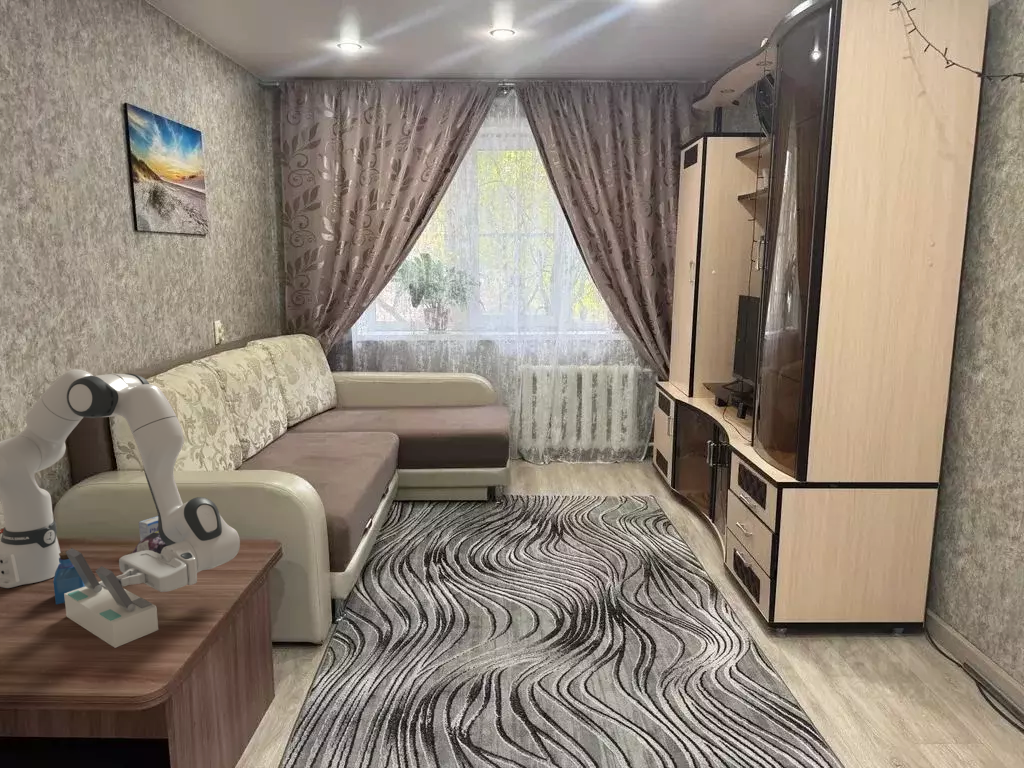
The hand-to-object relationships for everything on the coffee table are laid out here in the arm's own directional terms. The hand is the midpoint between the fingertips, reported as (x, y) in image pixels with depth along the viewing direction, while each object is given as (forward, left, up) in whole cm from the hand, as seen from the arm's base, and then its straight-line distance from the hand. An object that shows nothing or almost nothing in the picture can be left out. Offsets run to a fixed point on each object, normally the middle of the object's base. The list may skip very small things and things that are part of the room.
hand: (118, 581), depth 168 cm
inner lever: (-14, +8, -6) cm, 17 cm away
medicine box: (-27, +49, -14) cm, 57 cm away
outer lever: (0, +1, -6) cm, 6 cm away
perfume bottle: (-27, +15, -14) cm, 33 cm away
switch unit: (-7, +5, -13) cm, 16 cm away
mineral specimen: (-18, +36, -14) cm, 42 cm away
